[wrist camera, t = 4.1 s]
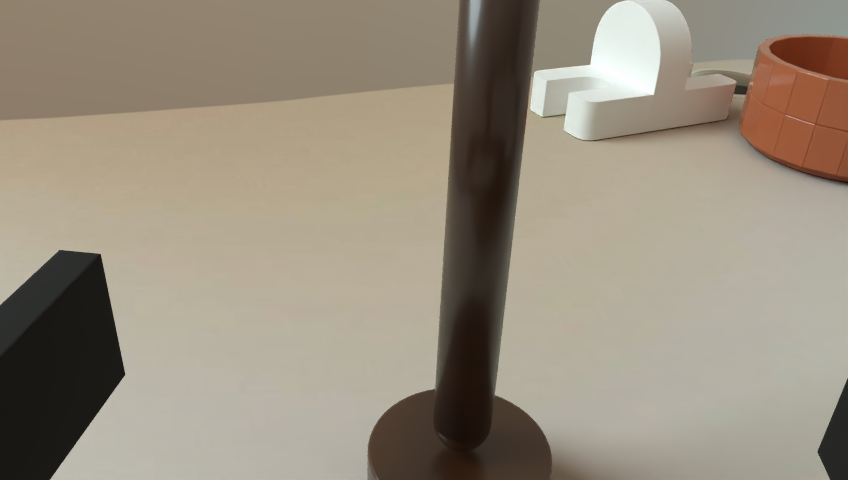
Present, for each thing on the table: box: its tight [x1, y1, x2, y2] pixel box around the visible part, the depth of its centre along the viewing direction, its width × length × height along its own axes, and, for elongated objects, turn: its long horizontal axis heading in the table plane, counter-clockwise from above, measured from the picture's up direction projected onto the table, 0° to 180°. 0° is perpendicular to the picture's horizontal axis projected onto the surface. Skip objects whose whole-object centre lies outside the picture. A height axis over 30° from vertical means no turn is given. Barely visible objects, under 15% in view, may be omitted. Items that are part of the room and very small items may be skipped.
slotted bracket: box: [530, 0, 736, 140], centre depth 52 cm, size 13×7×8 cm, turn 115°
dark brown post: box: [368, 0, 552, 480], centre depth 18 cm, size 5×5×19 cm
